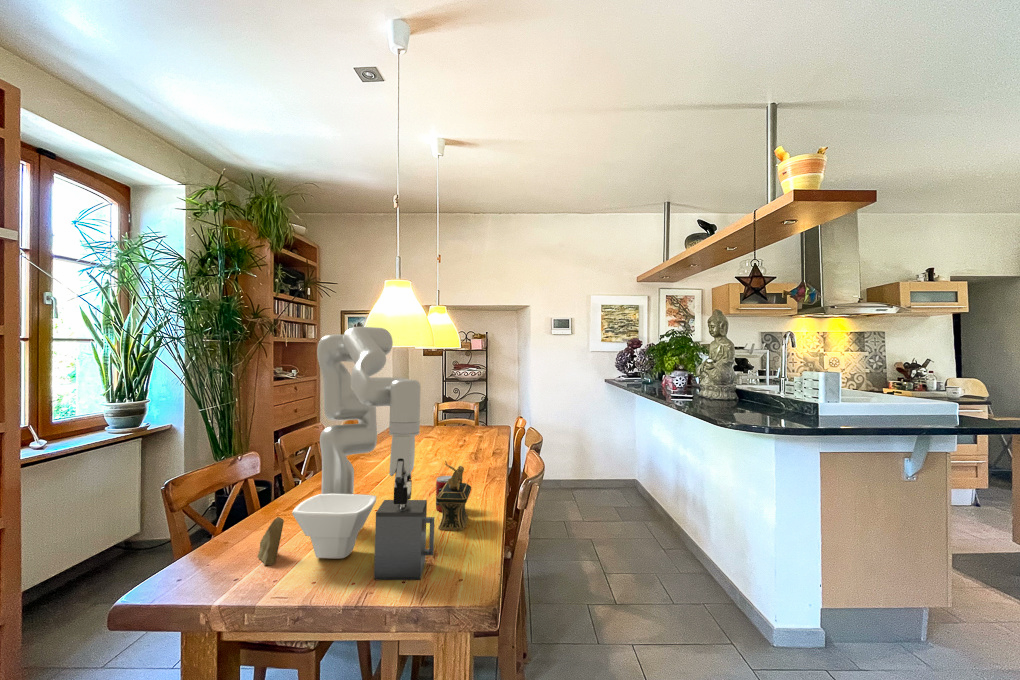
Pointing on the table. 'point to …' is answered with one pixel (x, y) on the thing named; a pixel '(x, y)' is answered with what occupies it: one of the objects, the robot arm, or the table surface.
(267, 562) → the rock
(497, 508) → the table surface
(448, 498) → the decorative box
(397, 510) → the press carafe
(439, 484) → the canned food
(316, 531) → the bowl
